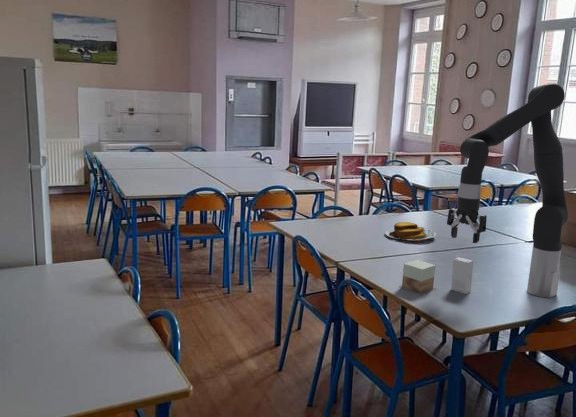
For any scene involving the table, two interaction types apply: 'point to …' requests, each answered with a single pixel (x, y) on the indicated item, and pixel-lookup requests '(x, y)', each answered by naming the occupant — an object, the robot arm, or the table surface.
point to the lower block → (417, 284)
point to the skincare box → (462, 275)
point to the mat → (417, 292)
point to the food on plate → (410, 232)
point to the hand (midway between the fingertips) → (464, 240)
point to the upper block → (419, 270)
